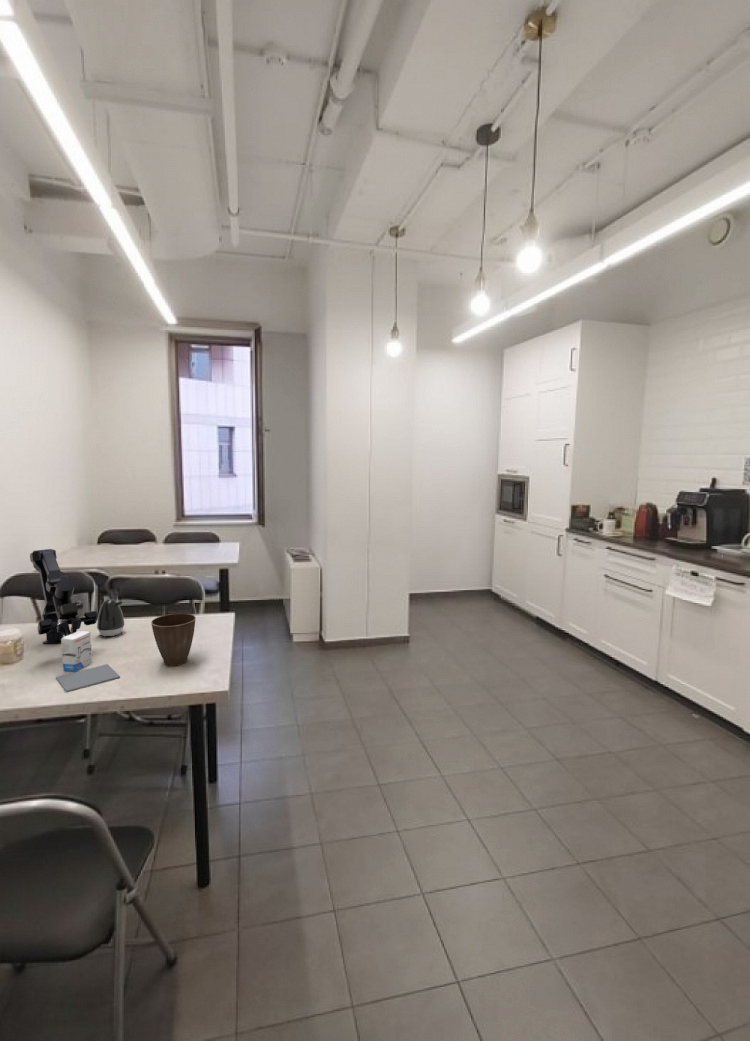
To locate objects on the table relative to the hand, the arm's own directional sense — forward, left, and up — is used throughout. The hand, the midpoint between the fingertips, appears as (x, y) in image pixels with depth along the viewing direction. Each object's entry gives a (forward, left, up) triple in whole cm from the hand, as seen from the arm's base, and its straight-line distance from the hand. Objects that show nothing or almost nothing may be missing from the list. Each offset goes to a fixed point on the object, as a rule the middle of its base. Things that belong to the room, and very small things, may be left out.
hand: (73, 642), depth 184 cm
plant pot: (0, +36, -8) cm, 36 cm away
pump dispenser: (-30, 0, -8) cm, 31 cm away
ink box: (+3, +3, -8) cm, 9 cm away
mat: (+13, +11, -8) cm, 19 cm away
